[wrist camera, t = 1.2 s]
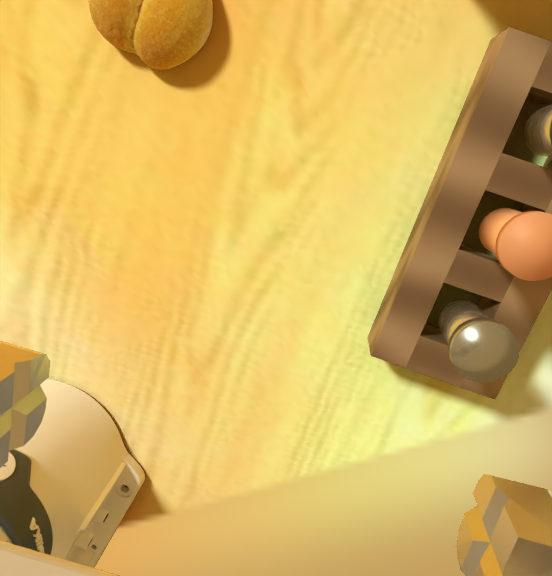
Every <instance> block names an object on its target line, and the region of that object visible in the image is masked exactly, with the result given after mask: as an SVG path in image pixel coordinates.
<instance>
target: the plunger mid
mask: <svg viewBox="0 0 552 576" xmlns="http://www.w3.org/2000/svg"><path fill="white" fill-rule="evenodd" d="M479 238H480V241H481V243H482V245H483V246H484V247H485V248H486V249H487V250H489V251H490V252H492V253H493V254H495V255H496V256H497V258H498V260H499V262H500V264H501V265H502V266H503V267H504V268H505V269H506V270H507V271H508V272H510V273H511V274H513V275H514V276H516V277H518V278H520V279H523V280H527V281H540V280H544V279H547V278H550V277H552V214H549V213H546V212H542V211H527V212H520V211H517V210H514V209H511V208H500V209H496V210H494V211H492V212H490V213H489V214H488V215H487V216H486V217H485V218H484V219H483V221H482V222H481V225H480V228H479Z"/></svg>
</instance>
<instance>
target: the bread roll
mask: <svg viewBox="0 0 552 576" xmlns="http://www.w3.org/2000/svg"><path fill="white" fill-rule="evenodd" d="M88 2H89V6H90V12H91V16H92V20H93V22H94V24H95V26H96V28H97V29H98V30H99V32H100V33H101V34H102V35H103V37H104V38H105V39H106V40H107V41H109V42H110V43H111V44H112V45H114V46H115V47H117V48H119V49H121V50H124V51H127V52H131V53H134V54H136V55H138V56H139V57H140V59H141V60H142V61H143V62H144V63H145V64H146V65H147V66H149V67H151V68H153V69H159V70H165V69H169V68H173V67H175V66H178V65H180V64H182V63H184V62H185V61H187V60H189V59H190V58H191V57H192V56H194V55H195V54H196V53H197V52H198V51H199V50H200V49H201V48H202V47H203V45H204V44H205V42H206V40H207V38H208V36H209V34H210V31H211V27H212V22H213V1H212V0H88Z"/></svg>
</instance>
